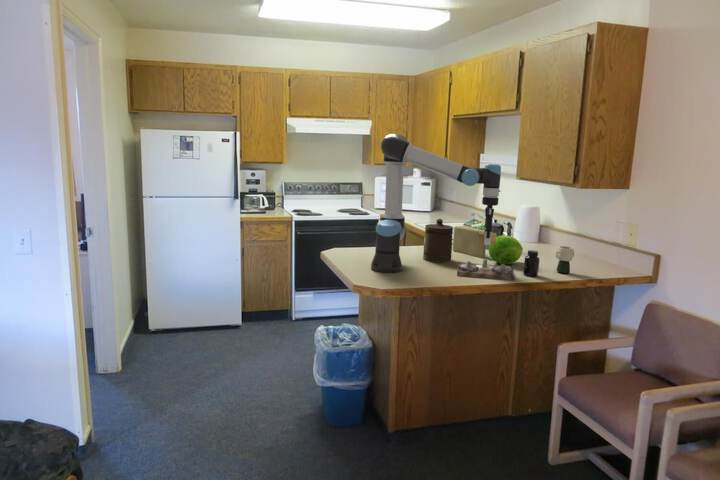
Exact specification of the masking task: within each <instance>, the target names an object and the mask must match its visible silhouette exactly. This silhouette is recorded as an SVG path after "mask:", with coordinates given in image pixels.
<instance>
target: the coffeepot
mask: <svg viewBox="0 0 720 480" xmlns="http://www.w3.org/2000/svg"><path fill="white" fill-rule="evenodd" d="M491 232H492V233H496V234H497V236H501V235H504V233H505V226H504V224H502V223H498V220H497V219H494V220H493V222H492V231H491ZM497 236H496V237H497ZM488 249H489V245H486V250H487V251H489V250H488Z"/></svg>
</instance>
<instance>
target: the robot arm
mask: <svg viewBox="0 0 720 480" xmlns="http://www.w3.org/2000/svg"><path fill="white" fill-rule="evenodd" d="M380 150H381V153H382V154H383V163H384V164H385V165H386V169H385V170H386V172H385V196H384V197H385V198H384V199H385V201H384V202H385V203H384V213H383V214H382V215H381V220H380V221H378V222H377V223H376V227H375V232H376V233H375V250H374V251H375V253H374V256H373V258H372V261H371V264H370V269H371V270H372V269H373V270H372V271H374V270H375V272H378V271H379V272H378V273H385V272H386V273H387V274H388V273H390V274H392V273H400V272H401V271H402V270H403V263H402V259H401V256H400V247H401V246H400V245H401V240H403V238H404V236H405V234H406V232H407V231H406V230H407V229H406V226H405V225H406V224H405V220H406V217H405V215H403V198H404V197H403V195H404V191H403V190H404V168H405V167H404V166H405V165H406V164H407V163H410V164H413V165H416V166H418V167H421V168H423V169H426V170H429V171H431V172H434V173H436V174H439V175H441V176H444V177H446V178H450V179H453V180H454V181H457V182H459V183H461V184H464V185H465V186H468V187H472V186H475V185H477V184H479V185H482V184H483V188H482V196H483V197H482V198H481V199H482V200H481V203H482V205H484V206H486V207H485V208H484V213H485V214H484V215H485V216H484V217H485V221H484V230H483V231H484V232H485V242H484V245H490V241H491V231H492V223H493V218H494V212H495V209H494V208H493V206H498V205H499V196H500V192H501V189H500V185H501V176H502V172H501V171H502V166H501V164H496V163H486V164H485V165H484V167H469V166H467V165H464V164H461V163H458V162H456V161H453V160H450V159H448V158H446V157H444V156H440V155H438V154H435V153H432V152H431V151H427V150H424V149H422V148H420V147H417V146H414V145H413V144H412V142H410V141H408V139H407V138H406V137H405V136H404V135H401V133H399V134H398V133H396V134H395V133H391V134H390V133H389V134H388V135H385V137H384V138H383V139H382V141H381V143H380Z"/></svg>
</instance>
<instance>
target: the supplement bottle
mask: <svg viewBox="0 0 720 480" xmlns="http://www.w3.org/2000/svg"><path fill="white" fill-rule="evenodd" d="M538 256H539V251H537V250H532V249H531V250H527V255H526V256H525V257H524V265H523V273H522V274H523V275H524V276H525V277H530V278H536V277H538V276H539V266H540V257H538Z"/></svg>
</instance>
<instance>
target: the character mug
mask: <svg viewBox="0 0 720 480" xmlns="http://www.w3.org/2000/svg"><path fill="white" fill-rule="evenodd" d="M574 257H575V250H574V247H572V246H566V245H559V246H558V248H557V251H556V253H555V258H556V259H558V260H559V261H558V263H557V266H556V267H557V268H556V272H559V273H560V274H561V273H563V274H569V273H570V272H571V271H570V270H571V264H570V262H572V261H573V258H574Z"/></svg>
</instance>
